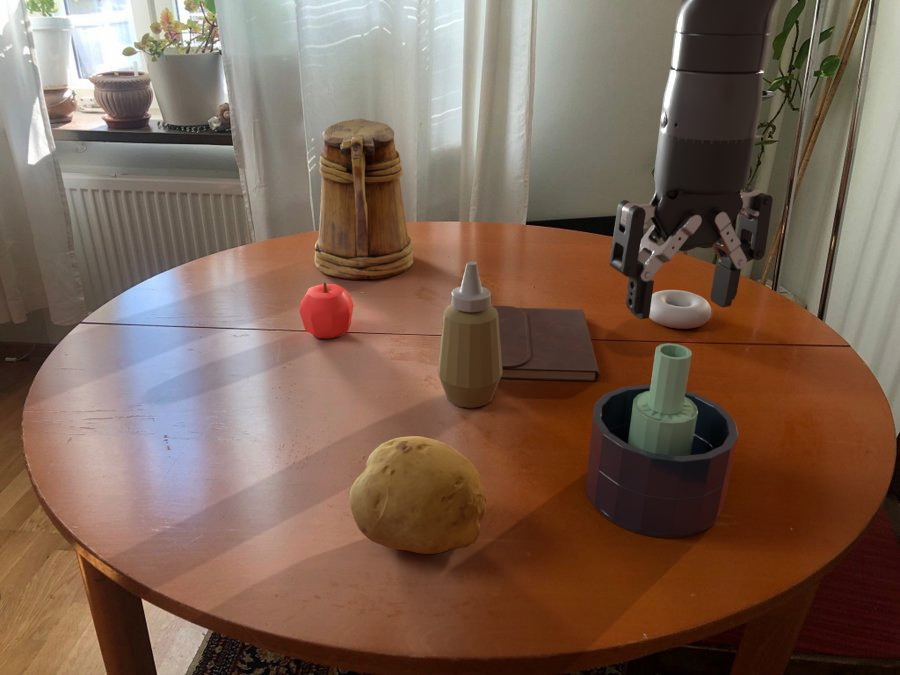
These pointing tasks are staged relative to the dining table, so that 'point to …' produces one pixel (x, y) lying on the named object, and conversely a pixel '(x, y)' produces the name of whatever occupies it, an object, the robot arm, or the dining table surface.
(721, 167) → the robot arm
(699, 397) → the pot
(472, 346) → the squeeze bottle
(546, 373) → the notebook
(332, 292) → the apple
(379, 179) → the tankard
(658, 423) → the bottle
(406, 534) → the potato
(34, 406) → the dining table surface
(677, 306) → the donut
